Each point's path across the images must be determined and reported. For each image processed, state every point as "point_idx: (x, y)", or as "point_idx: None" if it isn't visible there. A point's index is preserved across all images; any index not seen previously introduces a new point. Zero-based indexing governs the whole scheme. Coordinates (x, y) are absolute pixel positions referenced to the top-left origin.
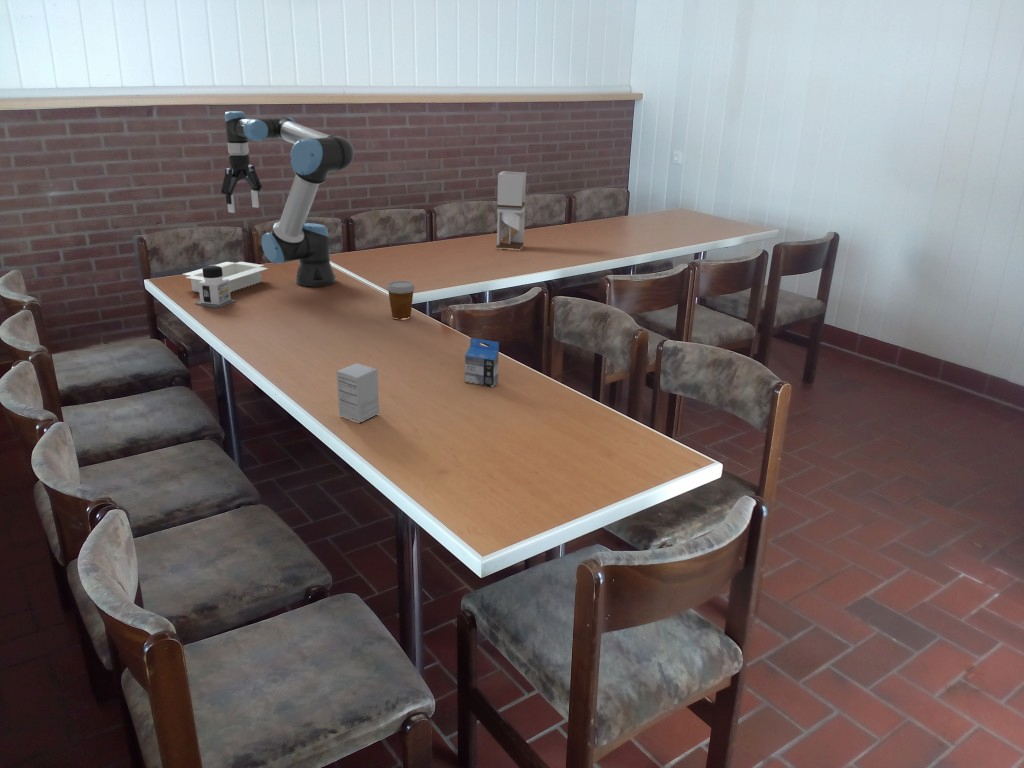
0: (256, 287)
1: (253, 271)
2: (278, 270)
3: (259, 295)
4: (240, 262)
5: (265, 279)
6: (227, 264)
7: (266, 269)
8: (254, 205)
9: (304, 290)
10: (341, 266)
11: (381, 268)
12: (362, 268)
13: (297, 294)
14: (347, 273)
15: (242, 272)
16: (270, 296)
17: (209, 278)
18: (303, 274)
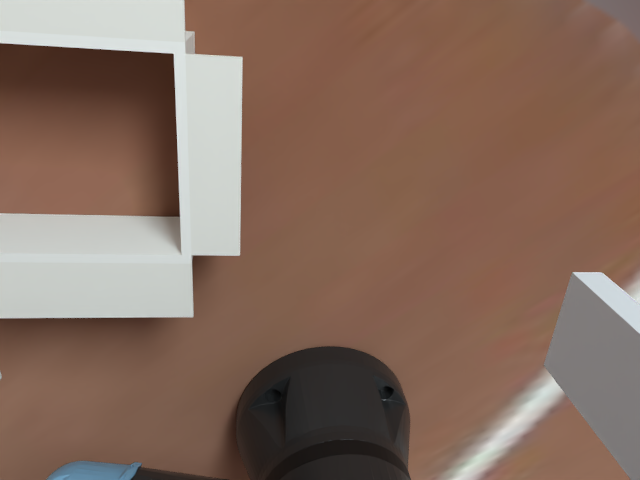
0: None
1: (83, 296)
2: (447, 147)
3: (2, 361)
4: (219, 75)
5: (251, 208)
6: (117, 30)
7: (175, 315)
8: (576, 329)
9: (188, 448)
10: None
11: (615, 474)
12: None
13: (122, 461)
14: (503, 426)
15: (21, 262)
16: (24, 404)
17: None
18: (245, 452)
